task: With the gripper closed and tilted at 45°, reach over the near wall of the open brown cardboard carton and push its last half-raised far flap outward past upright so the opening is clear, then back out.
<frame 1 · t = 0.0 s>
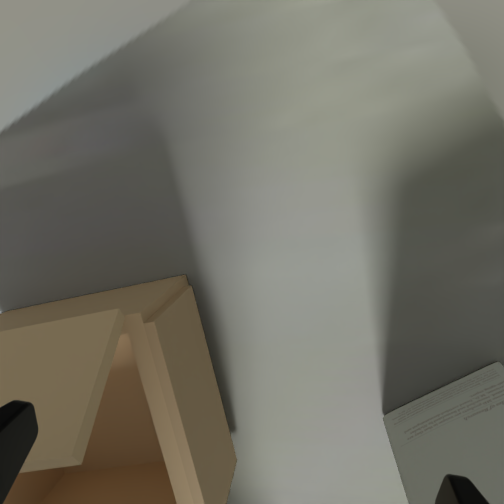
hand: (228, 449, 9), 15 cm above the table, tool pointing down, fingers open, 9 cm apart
carton: (119, 384, 27), on the table
supplement box: (466, 436, 25), on the table
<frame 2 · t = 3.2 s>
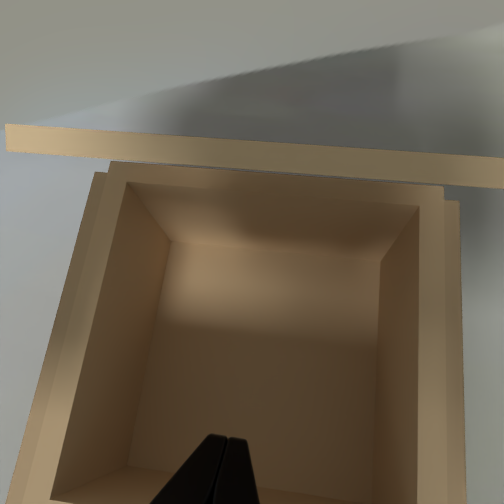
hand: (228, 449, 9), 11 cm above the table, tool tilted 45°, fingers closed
flap: (260, 157, 12), point 10 cm above the table, hinge at 60.0°
carton: (260, 359, 20), on the table
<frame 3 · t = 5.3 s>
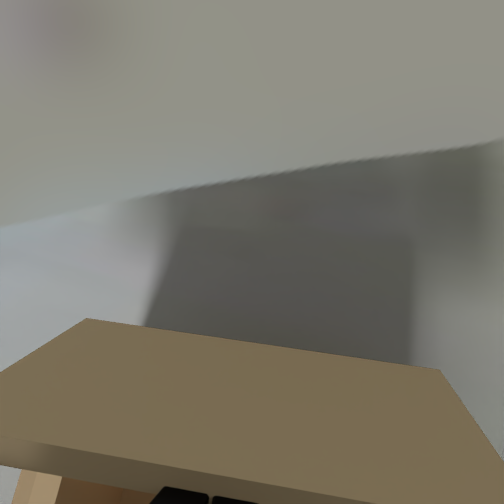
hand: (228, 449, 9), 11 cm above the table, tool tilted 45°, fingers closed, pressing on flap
flap: (239, 401, 10), point 10 cm above the table, hinge at 60.0°, touching gripper
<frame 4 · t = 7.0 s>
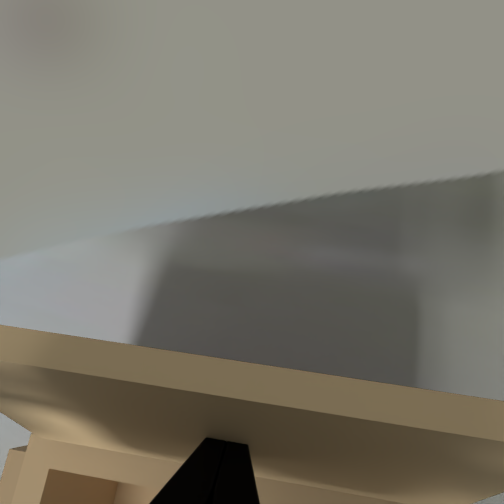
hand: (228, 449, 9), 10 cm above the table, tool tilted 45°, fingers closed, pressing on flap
flap: (230, 429, 9), point 10 cm above the table, hinge at 109.6°, touching gripper
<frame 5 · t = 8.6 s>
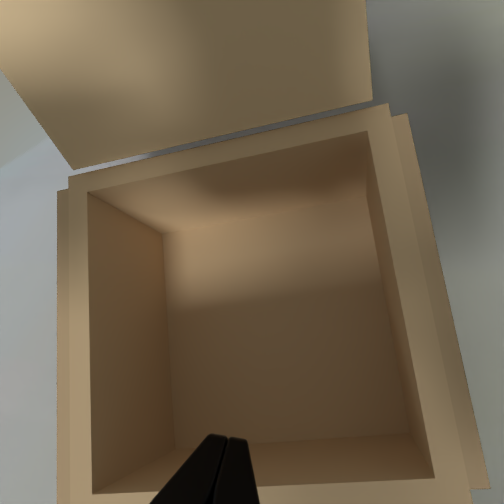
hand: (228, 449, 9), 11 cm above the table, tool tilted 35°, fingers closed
flap: (178, 49, 13), point 10 cm above the table, hinge at 118.9°
carton: (273, 322, 20), on the table
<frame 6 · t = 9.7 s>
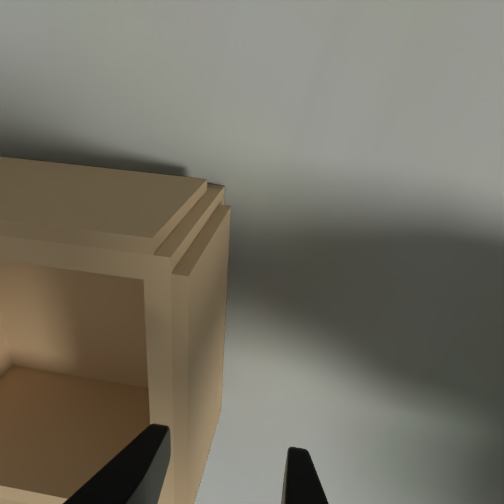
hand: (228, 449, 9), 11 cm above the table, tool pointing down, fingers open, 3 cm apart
carton: (100, 290, 21), on the table
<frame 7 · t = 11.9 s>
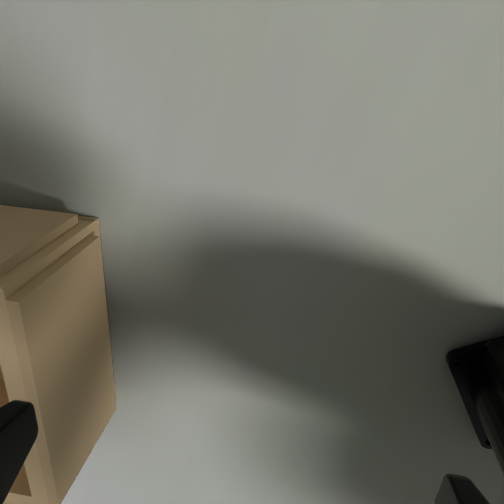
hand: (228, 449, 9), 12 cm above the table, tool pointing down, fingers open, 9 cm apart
carton: (7, 304, 24), on the table
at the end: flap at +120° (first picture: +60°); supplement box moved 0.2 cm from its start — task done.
